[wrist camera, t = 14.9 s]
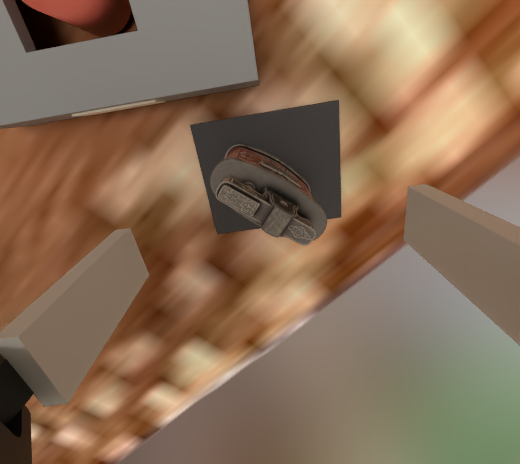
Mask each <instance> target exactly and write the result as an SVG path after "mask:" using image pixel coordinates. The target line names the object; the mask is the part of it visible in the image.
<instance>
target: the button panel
mask: <svg viewBox="0 0 520 464" xmlns="http://www.w3.org/2000/svg"><path fill="white" fill-rule="evenodd" d="M129 2H130V5H131V9H132V12H133V16H134V19H135V23H136V26H137V30H138V31H133V32H128V33H123V34H118V35H113V36H108V37H103V38H98V39H93V40H88V41H83V42H78V43H73V44H68V45H63V46H58V47H53V48H48V49H43V50H38V51H37V50H36V48H35V46H34V43H33V41H32V39H31V36H30V34H29V32H28V29H27V27H26V25H25V23H24V20H23V18H22V16H21V13H20V11H19V9H18V6H17V4H16V2H15V0H0V129H3V128H14V127H25V126H31V125H36V124H42V123H48V122H53V121H59V120H65V119H70V118H76V117H82V116H90V115H96V114H101V113H107V112H113V111H118V110H124V109H130V108H135V107H141V106H147V105H152V104H158V103H164V102H167V101H173V100H178V99H184V98H190V97H195V96H201V95H207V94H212V93H218V92H224V91H229V90H235V89H241V88H246V87H252V86H258V85H259V80H258V73H257V65H256V58H255V51H254V43H253V36H252V29H251V21H250V14H249V6H248V0H129Z"/></svg>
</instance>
